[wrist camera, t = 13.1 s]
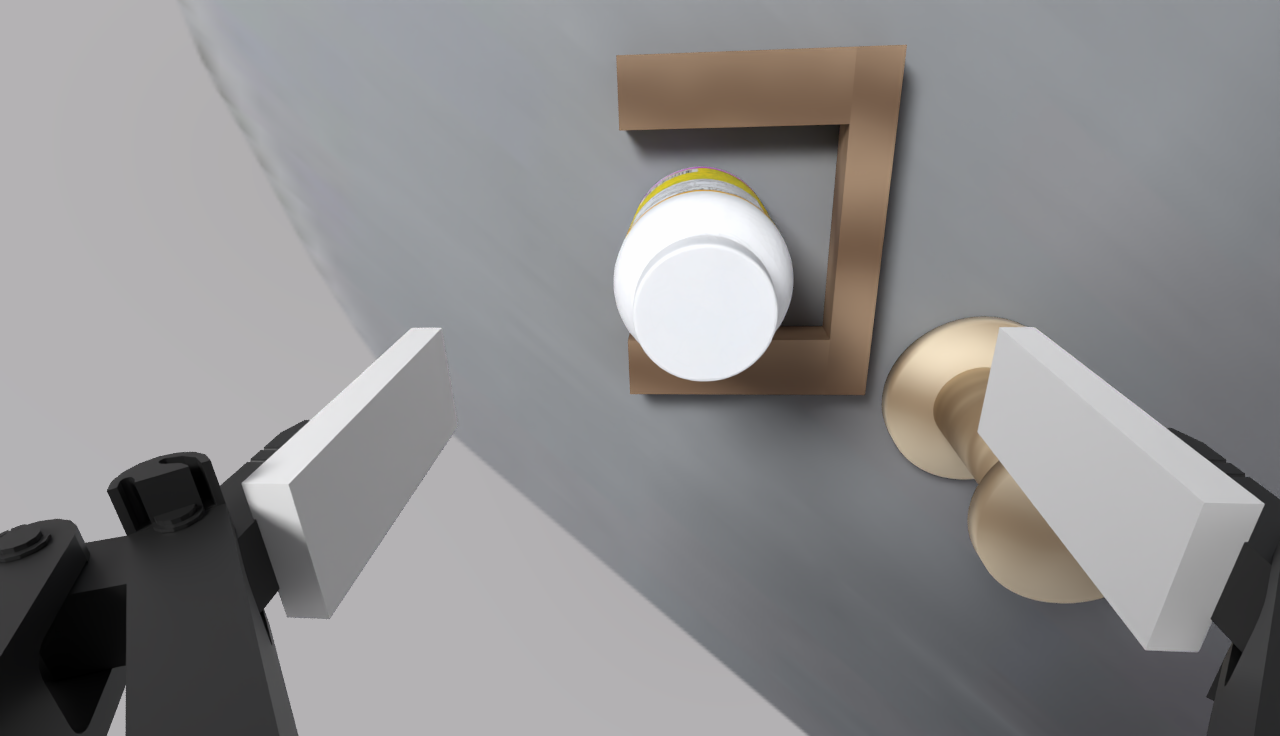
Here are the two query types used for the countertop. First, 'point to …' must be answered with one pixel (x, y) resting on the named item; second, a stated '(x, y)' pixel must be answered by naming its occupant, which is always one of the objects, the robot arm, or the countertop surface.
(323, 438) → the robot arm
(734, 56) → the notch board
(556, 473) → the countertop surface
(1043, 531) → the bobbin
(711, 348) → the supplement bottle
